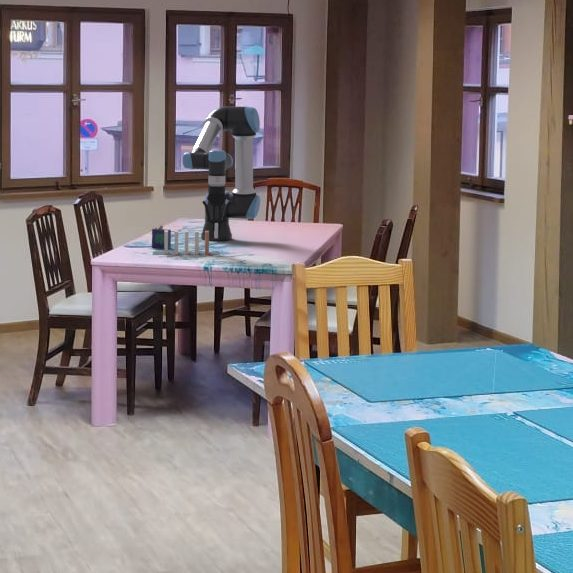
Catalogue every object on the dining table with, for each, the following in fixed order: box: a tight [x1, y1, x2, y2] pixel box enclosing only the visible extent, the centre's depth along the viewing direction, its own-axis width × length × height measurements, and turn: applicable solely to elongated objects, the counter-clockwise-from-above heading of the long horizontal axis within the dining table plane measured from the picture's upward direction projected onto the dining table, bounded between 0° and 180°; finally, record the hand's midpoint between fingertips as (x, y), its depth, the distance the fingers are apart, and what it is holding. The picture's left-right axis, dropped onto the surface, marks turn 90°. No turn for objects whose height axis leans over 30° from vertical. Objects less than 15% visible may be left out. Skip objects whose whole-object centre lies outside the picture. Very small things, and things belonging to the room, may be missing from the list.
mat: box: [152, 251, 221, 256], centre depth 532 cm, size 30×10×1 cm, turn 96°
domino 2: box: [173, 229, 179, 254], centre depth 530 cm, size 2×5×10 cm, turn 6°
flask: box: [151, 225, 172, 250], centre depth 546 cm, size 9×3×11 cm, turn 74°
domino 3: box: [184, 230, 190, 254], centre depth 531 cm, size 2×5×10 cm, turn 6°
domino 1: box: [163, 230, 169, 254], centre depth 530 cm, size 2×5×10 cm, turn 6°
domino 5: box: [204, 231, 210, 256], centre depth 532 cm, size 2×5×10 cm, turn 6°
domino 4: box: [194, 230, 200, 254], centre depth 531 cm, size 2×5×10 cm, turn 6°
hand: (216, 237), depth 532 cm, fingers closed
